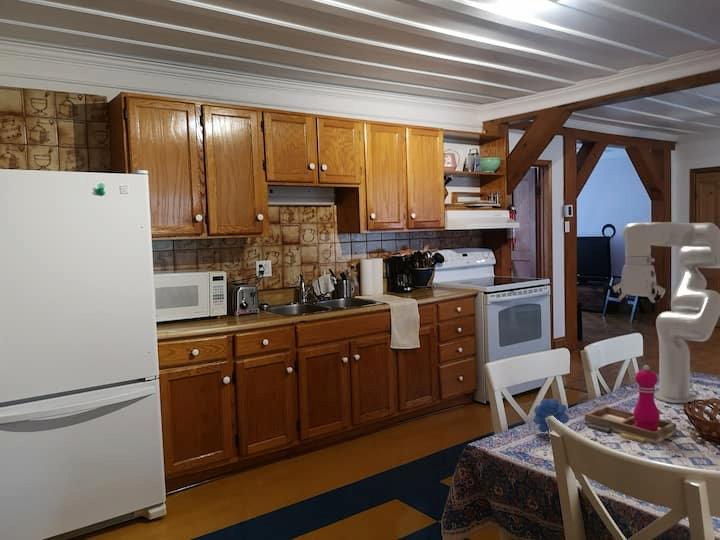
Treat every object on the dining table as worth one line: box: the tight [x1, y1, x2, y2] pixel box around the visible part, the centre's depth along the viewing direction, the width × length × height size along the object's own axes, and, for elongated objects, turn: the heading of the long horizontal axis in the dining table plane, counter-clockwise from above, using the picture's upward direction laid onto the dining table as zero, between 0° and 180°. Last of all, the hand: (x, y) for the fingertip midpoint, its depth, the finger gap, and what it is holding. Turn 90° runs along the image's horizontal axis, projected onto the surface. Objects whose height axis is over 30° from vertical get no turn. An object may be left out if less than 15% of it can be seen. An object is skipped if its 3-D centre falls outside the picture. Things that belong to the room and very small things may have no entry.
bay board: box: [584, 405, 677, 444], centre depth 178 cm, size 14×23×3 cm, turn 36°
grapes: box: [533, 397, 570, 434], centre depth 176 cm, size 12×7×12 cm, turn 43°
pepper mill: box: [632, 364, 661, 432], centre depth 173 cm, size 7×7×20 cm
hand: (638, 312), depth 188 cm, fingers open, 9 cm apart
